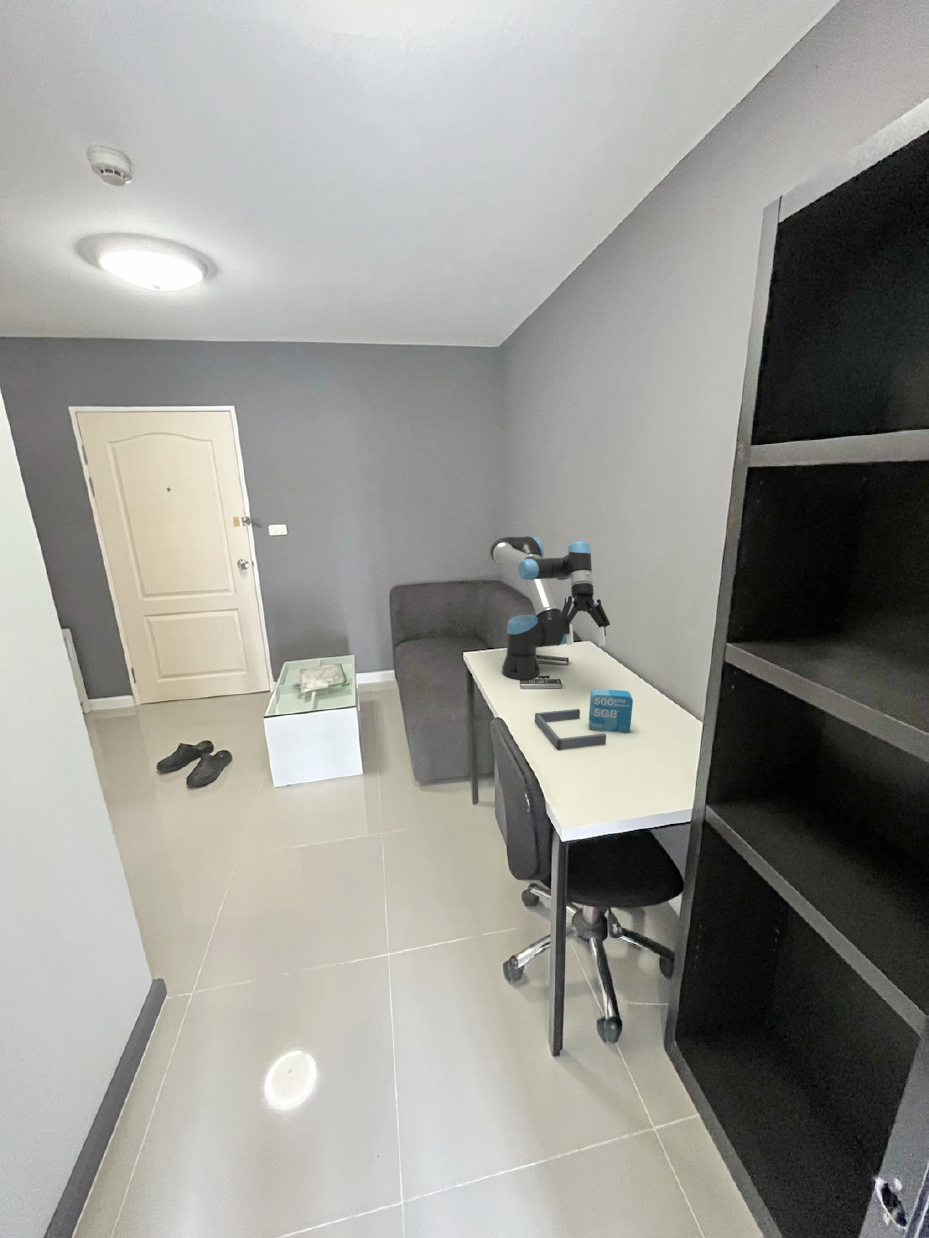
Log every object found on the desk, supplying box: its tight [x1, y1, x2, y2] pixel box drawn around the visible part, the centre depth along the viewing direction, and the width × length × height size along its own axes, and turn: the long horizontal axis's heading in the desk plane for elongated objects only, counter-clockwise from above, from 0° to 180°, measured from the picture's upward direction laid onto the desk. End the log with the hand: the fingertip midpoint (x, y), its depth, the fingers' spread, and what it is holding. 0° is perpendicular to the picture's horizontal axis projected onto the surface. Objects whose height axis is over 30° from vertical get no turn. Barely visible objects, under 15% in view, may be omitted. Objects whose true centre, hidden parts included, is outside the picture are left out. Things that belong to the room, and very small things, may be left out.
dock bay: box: [534, 708, 607, 751], centre depth 148 cm, size 18×15×3 cm
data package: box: [588, 688, 634, 733], centre depth 149 cm, size 12×4×12 cm, turn 81°
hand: (586, 645), depth 166 cm, fingers open, 13 cm apart
